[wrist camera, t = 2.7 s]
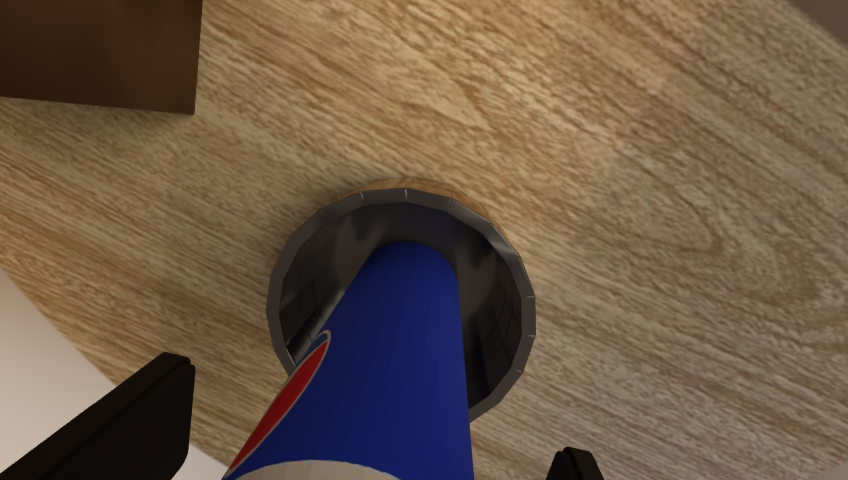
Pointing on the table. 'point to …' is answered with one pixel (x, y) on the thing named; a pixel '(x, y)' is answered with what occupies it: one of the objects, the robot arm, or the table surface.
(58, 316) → the table surface
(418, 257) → the beverage can
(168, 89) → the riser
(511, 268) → the bowl
